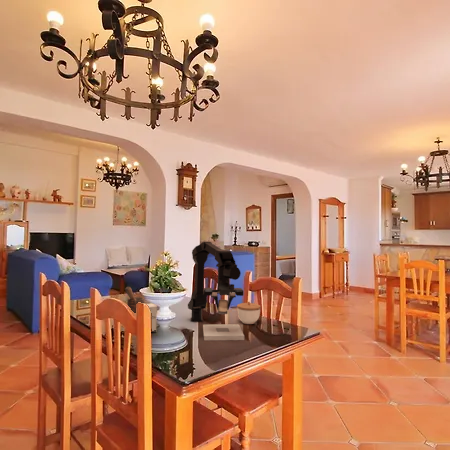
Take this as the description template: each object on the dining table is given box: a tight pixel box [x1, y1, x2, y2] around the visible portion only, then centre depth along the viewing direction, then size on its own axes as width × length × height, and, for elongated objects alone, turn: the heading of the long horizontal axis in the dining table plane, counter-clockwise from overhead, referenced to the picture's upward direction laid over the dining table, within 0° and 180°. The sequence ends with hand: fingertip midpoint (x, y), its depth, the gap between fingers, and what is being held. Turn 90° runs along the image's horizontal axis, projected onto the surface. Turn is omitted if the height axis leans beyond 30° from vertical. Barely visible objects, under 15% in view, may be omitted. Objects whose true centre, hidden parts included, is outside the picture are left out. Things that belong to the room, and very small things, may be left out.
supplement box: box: [146, 303, 158, 331], centre depth 156 cm, size 7×7×13 cm
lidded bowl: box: [236, 301, 261, 325], centre depth 176 cm, size 13×13×11 cm
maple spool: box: [217, 299, 229, 315], centre depth 154 cm, size 4×4×6 cm
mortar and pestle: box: [124, 286, 145, 313], centre depth 167 cm, size 12×9×20 cm
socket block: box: [202, 323, 245, 341], centre depth 154 cm, size 18×18×2 cm
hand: (222, 309), depth 154 cm, fingers closed on maple spool, 4 cm apart
